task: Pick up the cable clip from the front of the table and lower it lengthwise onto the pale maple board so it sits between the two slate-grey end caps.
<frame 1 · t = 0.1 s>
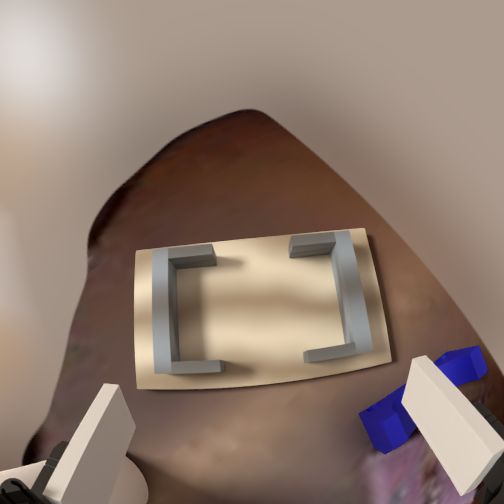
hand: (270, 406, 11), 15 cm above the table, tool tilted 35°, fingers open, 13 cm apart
cable clip: (412, 399, 24), on the table
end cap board: (258, 311, 28), on the table
alcohol: (114, 478, 21), on the table
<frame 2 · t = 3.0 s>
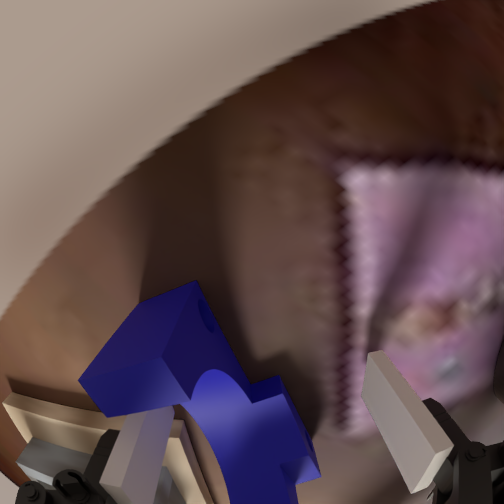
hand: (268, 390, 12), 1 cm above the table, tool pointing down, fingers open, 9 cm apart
cable clip: (237, 386, 14), on the table, touching gripper
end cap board: (137, 499, 17), on the table
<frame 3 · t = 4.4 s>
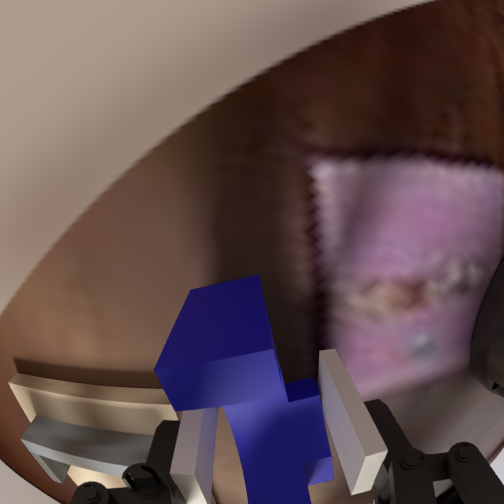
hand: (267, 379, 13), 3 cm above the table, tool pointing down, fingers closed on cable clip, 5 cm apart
cable clip: (269, 384, 14), point 2 cm above the table, touching gripper
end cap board: (134, 478, 19), on the table
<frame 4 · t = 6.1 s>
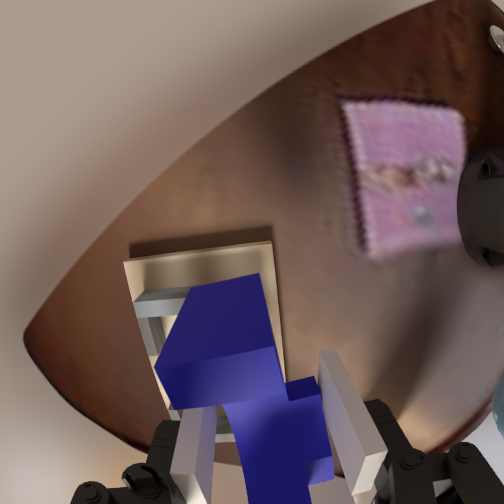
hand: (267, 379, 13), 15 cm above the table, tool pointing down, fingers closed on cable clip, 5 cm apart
cable clip: (269, 383, 14), point 15 cm above the table, touching gripper
screw: (492, 44, 21), on the table
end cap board: (216, 358, 30), on the table
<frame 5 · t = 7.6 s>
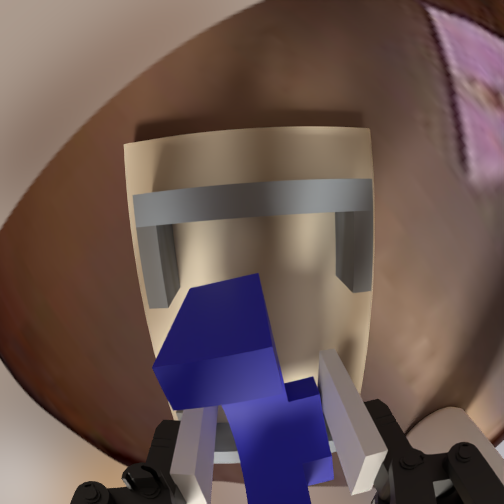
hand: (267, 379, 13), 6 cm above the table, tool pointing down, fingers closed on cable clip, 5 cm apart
cable clip: (269, 384, 14), point 5 cm above the table, touching gripper
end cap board: (260, 325, 19), on the table
alcohol: (429, 431, 23), on the table
when the fingers open (3 cm above the table, at t = 8.8 s): cable clip drops 1 cm, resting on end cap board.
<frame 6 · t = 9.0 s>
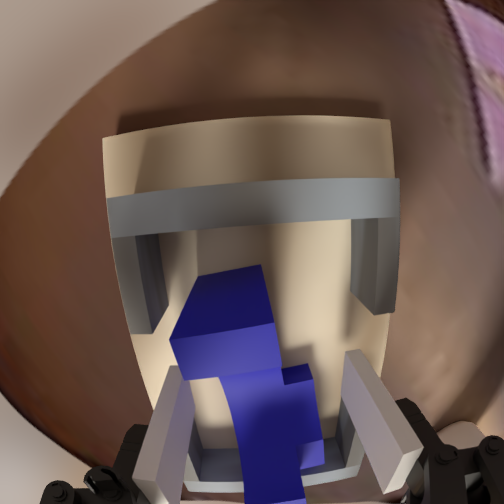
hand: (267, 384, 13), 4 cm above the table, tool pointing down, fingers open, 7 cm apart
cable clip: (266, 369, 15), point 1 cm above the table, touching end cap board
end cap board: (262, 345, 16), on the table
alcohol: (439, 446, 21), on the table
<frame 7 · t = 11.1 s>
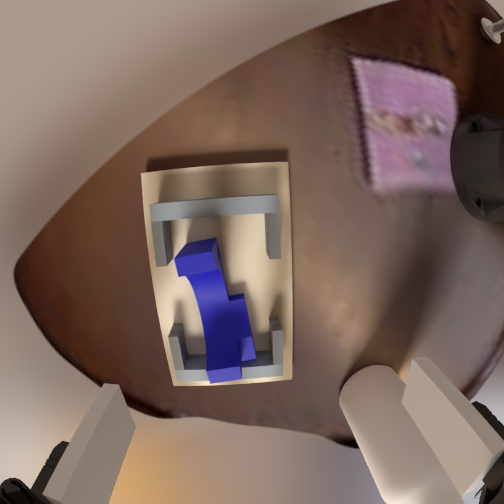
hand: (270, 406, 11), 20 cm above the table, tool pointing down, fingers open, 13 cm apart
cable clip: (221, 296, 29), point 1 cm above the table, touching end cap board
screw: (483, 34, 24), on the table
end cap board: (222, 284, 30), on the table
alcohol: (366, 386, 35), on the table
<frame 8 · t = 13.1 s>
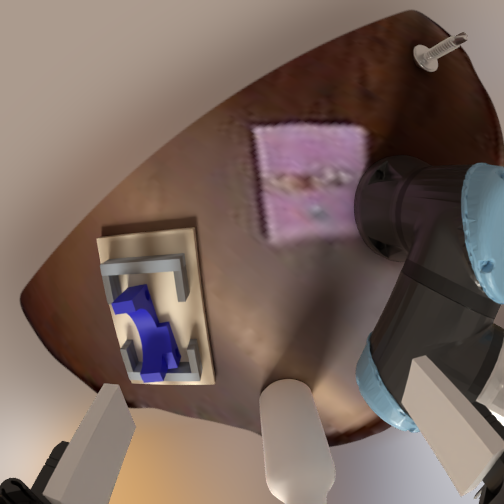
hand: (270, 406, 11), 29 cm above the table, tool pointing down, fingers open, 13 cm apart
cable clip: (154, 323, 40), point 1 cm above the table, touching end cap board
screw: (419, 62, 33), on the table
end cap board: (158, 313, 41), on the table
alcohol: (284, 395, 45), on the table
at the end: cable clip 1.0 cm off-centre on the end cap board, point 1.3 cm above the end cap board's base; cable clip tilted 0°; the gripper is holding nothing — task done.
